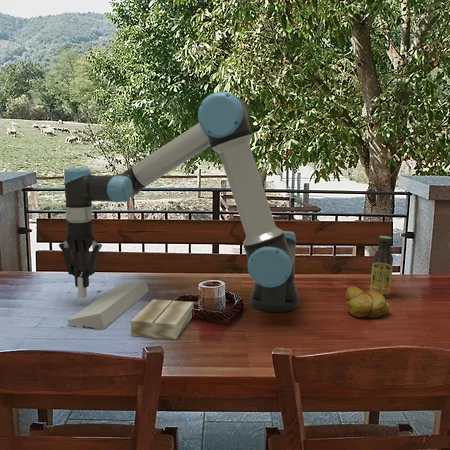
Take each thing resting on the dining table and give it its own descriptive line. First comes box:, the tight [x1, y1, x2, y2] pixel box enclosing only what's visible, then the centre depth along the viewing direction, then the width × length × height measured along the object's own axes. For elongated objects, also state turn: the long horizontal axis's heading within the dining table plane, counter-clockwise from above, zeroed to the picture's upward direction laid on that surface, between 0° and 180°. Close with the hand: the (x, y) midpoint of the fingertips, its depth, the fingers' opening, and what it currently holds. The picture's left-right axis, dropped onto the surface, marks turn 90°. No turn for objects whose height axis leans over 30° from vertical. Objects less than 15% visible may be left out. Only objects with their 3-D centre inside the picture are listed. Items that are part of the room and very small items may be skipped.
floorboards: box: [130, 299, 194, 340], centre depth 139 cm, size 12×18×4 cm, turn 169°
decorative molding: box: [66, 278, 150, 331], centre depth 153 cm, size 34×5×10 cm
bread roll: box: [344, 285, 391, 318], centre depth 149 cm, size 13×10×8 cm
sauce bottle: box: [369, 235, 394, 300], centre depth 164 cm, size 7×6×20 cm
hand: (82, 297), depth 155 cm, fingers closed
